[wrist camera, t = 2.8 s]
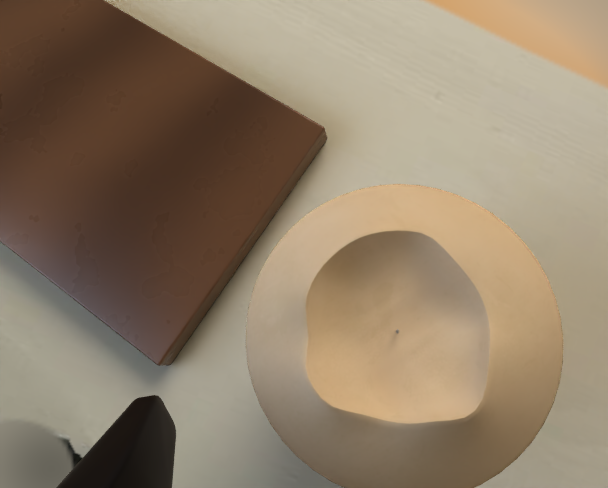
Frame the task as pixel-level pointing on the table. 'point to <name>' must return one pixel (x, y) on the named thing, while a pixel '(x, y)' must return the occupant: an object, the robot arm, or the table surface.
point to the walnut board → (135, 166)
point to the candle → (404, 340)
